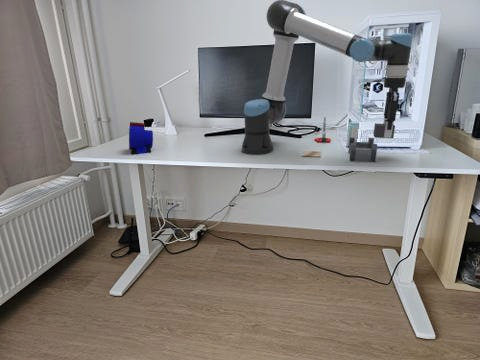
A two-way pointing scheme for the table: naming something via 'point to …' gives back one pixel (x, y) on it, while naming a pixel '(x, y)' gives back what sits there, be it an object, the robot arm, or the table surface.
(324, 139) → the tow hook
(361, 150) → the housing
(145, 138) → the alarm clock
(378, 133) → the plug
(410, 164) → the table surface
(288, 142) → the table surface
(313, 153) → the cork mat
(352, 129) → the can
